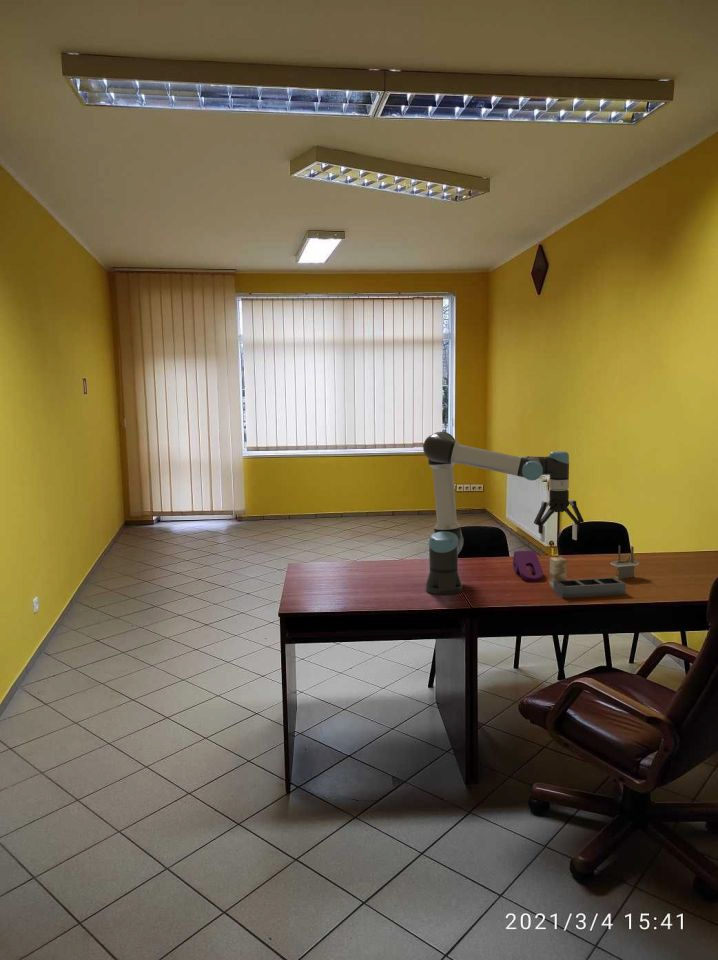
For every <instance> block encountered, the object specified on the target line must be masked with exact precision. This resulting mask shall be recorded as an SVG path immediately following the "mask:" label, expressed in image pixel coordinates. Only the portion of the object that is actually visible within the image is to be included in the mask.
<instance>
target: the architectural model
mask: <svg viewBox="0 0 718 960" xmlns="http://www.w3.org/2000/svg"><path fill="white" fill-rule="evenodd" d="M634 548H635V547H634V546H630V553H629V554H625V555H621V545H618V555H617V557H618V559H617V560H613V561H611V562H610V565H611V566H614V567H616V568H617V569H615V576H614V577H615V578H617V579H619V580H623V579H627V578H628V579H630V578H634V577H635V566H638V565H639V564H640V561H637V560H635V557H636V556H635V555H634V551H635V550H634ZM629 577H630V578H629Z"/></svg>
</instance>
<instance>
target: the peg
mask: <svg viewBox="0 0 718 960" xmlns="http://www.w3.org/2000/svg"><path fill="white" fill-rule="evenodd" d="M558 580H567V559H565V558H564V557H562V556H559V557H557V556H556V557H555V556H553V557H549V582H548V583H549V587H551V588H552V589H553V586H554V581H558Z"/></svg>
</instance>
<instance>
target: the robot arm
mask: <svg viewBox="0 0 718 960" xmlns="http://www.w3.org/2000/svg"><path fill="white" fill-rule="evenodd" d="M422 447H423V448H422V449H423V453H424V456H425V457H426V458H427V460H428V466H429V467H430V468H431V469H432V478H433V480H432V481H433V489H434V490H433V492H434V502H435V504H434V505H435V514H436V523H435V525H434V526H433V533H432V534H431V535H430V536H429V538H428V539H429V540H428V546H429V547H428V549H429V551H428V553H429V554H428V555H429V562H428V563H429V572H428V574H427V579H426V581H425V591H426V593H427V592H428V593H430V594H432V595H440V596H450V595H456V594H459V593H461V592H462V591H463V583H462V581H461V577H460V574H459V569H458V567H459V565H458V564H459V563H458V562H459V559H458V557H459V556H458V555H459V554H460V552H461V551H462V550H463V547H464V545H465V543H464V536H463V534H462V526H461V524H460V523H459V522H458V520H457V519H458V517H457V507H456V503H457V502H456V492H455V477H454V466H455V465H456V464H460V465H464V466H470V467H475V468H479V469H483V470H489V471H493V472H496V473H497V472H498V473H502V474H507V475H512V476H516V477H520V478H524V479H526V480H528V481H536V480H538V479H539V478H540V477H541V476H544V475H545V476H548V475H549V487H548V488H549V489H550V490H549V495H548V496H549V501H541V507H540V508H539V511H538V513H537V514H536V517H535V519H534V521H533V524H535V525H536V526H538V533H539V534H540V542H543V543H545V542H546V541H545V540H546V533H545V532H546V531H545V530H546V526H545V524H546V522H547V521H548V520H549V519H550V518H551V516H552V515H553V514H555V513H564V512H565V513H566V514H567V516H568V517H569V518H570V519H571V520H572V521H573V523H572V530H571V532H572V537H571V539H572V540H575V541H577V540H578V532H579V531H580V524H582V523H585V522H584V518H583V516H582V514H581V512H580V510H579V508H578V505H577V500H574V499H571V500H569V499H570V497H569V495H570V493H569V492H570V491H569V487H570V485H569V483H570V482H569V481H570V454H569V453H568V451H562V450H555V451H550V452H549V455H547V456H528V455H527V456H516V455H511V454H506V453H503V452H497V451H494V450H493V451H492V450H488V449H482V448H479V447H473V446H469V445H465V444H460V443H459V442H458V440H456V439H455V437H454V436H453V435H452V434H450V433H449V432H446V431H437V432H434V433H432V434H430V435H429V436H428V437H426V439H425V440H424V442H423V445H422ZM569 506H571V508H572V509H573V512H574V514H575V515H574V514H573V512H572V511H571V510H570V508H568V507H569ZM548 507H549V508H548ZM547 508H548V509H547ZM546 510H547V511H546ZM544 513H545V514H544Z"/></svg>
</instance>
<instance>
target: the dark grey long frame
mask: <svg viewBox="0 0 718 960" xmlns="http://www.w3.org/2000/svg"><path fill="white" fill-rule="evenodd" d="M615 577H616V576H614V577H597V578H579V579H578V578H576V579H566V580H558V581H554V586H553V588H552V589H553V592H554V593H555V595H557V596H558V597H560V598H561V599H572V598H574V599H575V598H589V597H593V598H594V597H606V596H609V597H610V596H621V595H623V596H624V595H626V592H627V590H626V589H627V586H626V585H627V583H626V582H624V581H622V580H621V579H618V578H615Z"/></svg>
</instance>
